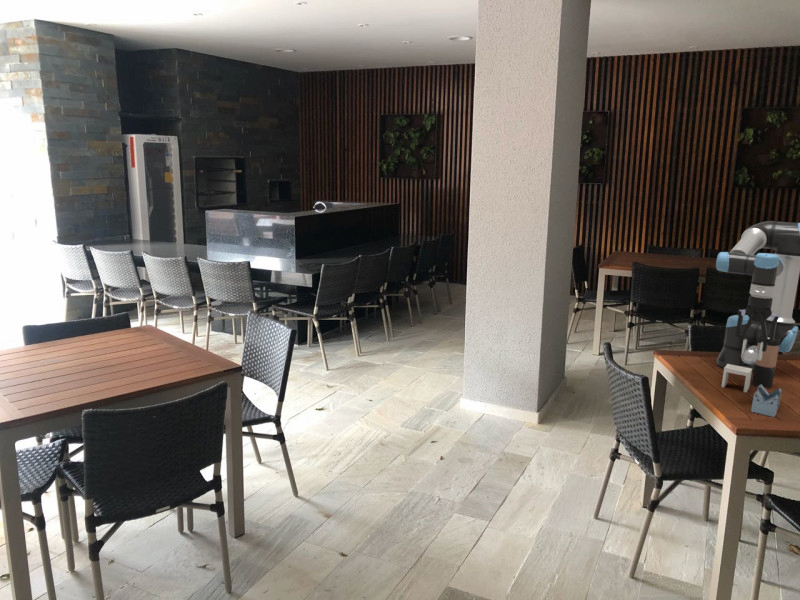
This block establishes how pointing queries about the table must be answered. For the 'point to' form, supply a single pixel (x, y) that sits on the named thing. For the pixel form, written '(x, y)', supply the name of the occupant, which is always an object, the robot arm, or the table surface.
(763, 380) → the travel mug
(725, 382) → the u shaped block
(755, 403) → the v block
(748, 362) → the axle
